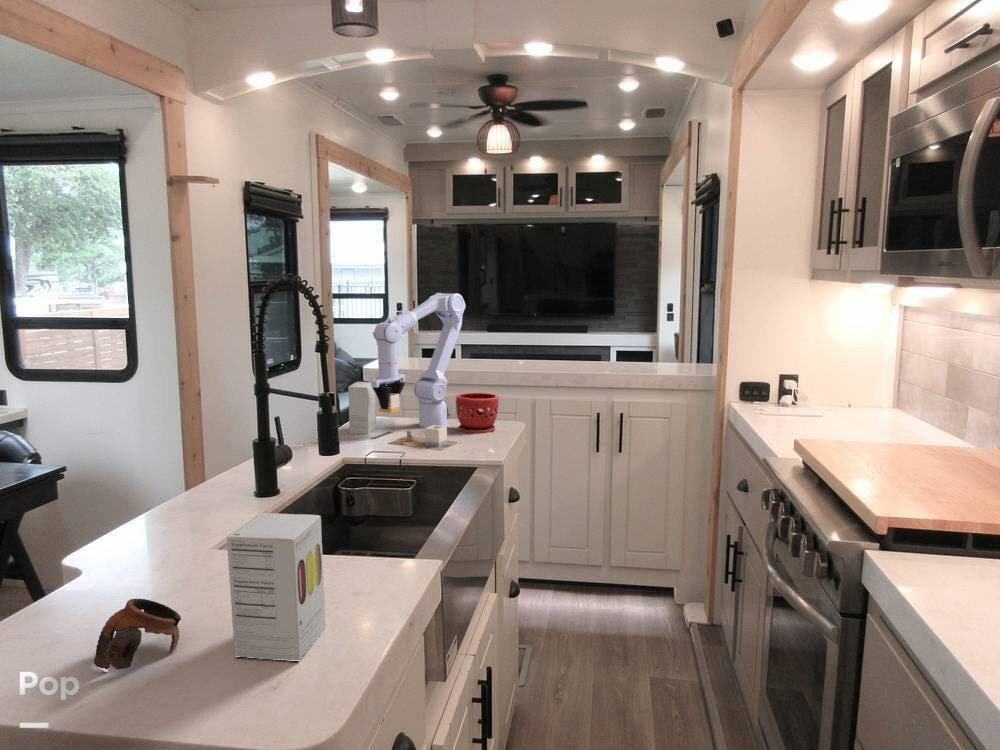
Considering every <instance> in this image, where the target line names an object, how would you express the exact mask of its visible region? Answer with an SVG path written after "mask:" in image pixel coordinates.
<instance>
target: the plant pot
mask: <svg viewBox="0 0 1000 750" xmlns="http://www.w3.org/2000/svg"><path fill="white" fill-rule="evenodd" d="M455 404H456V405H455V406H456V409H455V410H456V415H457V419H458V422H459V424H460V425H458V427H457V429H458V431H460V433H465V434H487V433H494V432H495V430H496V426H495V425H494V424H495V422H496V419H497V417H498V411H499V395H496V394H494V393H487V392H466V393H458V394H457V395H456V399H455ZM480 410H482V411H480Z"/></svg>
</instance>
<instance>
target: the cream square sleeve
mask: <svg viewBox="0 0 1000 750" xmlns="http://www.w3.org/2000/svg"><path fill="white" fill-rule="evenodd" d="M400 401H401V400H400V398H399V394H394V393H390V395H389V406H388V409H381V406H380V403H379V402H378V411H379V412H381V413H387V414H388V413H390V414H392V413H396V412H400V410H401V406H400V404H401V403H400Z"/></svg>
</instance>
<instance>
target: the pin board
mask: <svg viewBox="0 0 1000 750" xmlns="http://www.w3.org/2000/svg"><path fill="white" fill-rule="evenodd" d="M413 435H414V434H413V430H406V436H403V437H400V438H397V439H395V440H392V441H390V442H388V443H386V444H387V445H395V446H403V447H411V448H417V449H427V450H432V451H443V450H445V449H447V448H450V447H451V446H454V445H457V444H458V443H459V441H452V440H447V444H445V445H443V446H441V447H434V446H426V437H419V436H413Z"/></svg>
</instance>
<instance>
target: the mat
mask: <svg viewBox="0 0 1000 750" xmlns="http://www.w3.org/2000/svg"><path fill="white" fill-rule="evenodd" d="M393 432H394V431H387V432H383V433H381V434H379V435H376V436H374V437H371V438H369V440H375V439H378V438H381V437H384V436H387V435H389V434H392V433H393Z"/></svg>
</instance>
